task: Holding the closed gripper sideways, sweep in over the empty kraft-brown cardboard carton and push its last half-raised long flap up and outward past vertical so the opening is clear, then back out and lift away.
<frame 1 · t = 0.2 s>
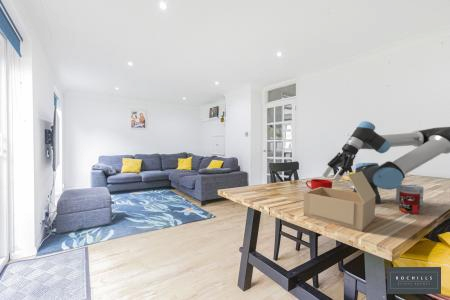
hand: (329, 178, 116), 15 cm above the table, tool tilted 35°, fingers open, 13 cm apart
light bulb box: (408, 203, 123), on the table
canned food: (408, 212, 107), on the table
carton: (338, 217, 97), on the table
ceramic cup: (317, 195, 140), on the table
carton flap: (362, 185, 90), point 16 cm above the table, hinge at 60.0°
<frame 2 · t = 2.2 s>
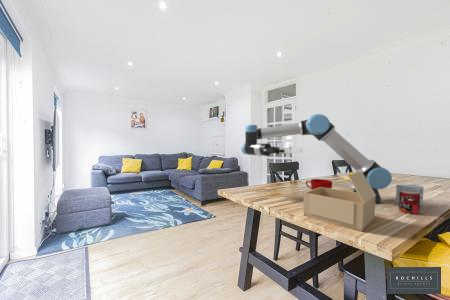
hand: (296, 151, 112), 30 cm above the table, tool horizontal, fingers open, 11 cm apart
nothing on the table moved.
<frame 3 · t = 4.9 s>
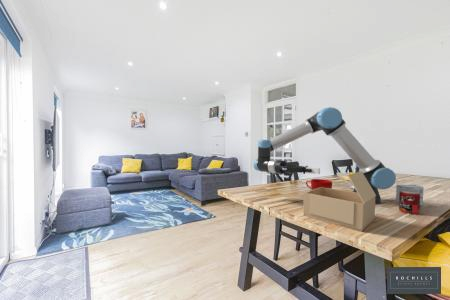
hand: (319, 171, 102), 21 cm above the table, tool horizontal, fingers closed
nothing on the table moved.
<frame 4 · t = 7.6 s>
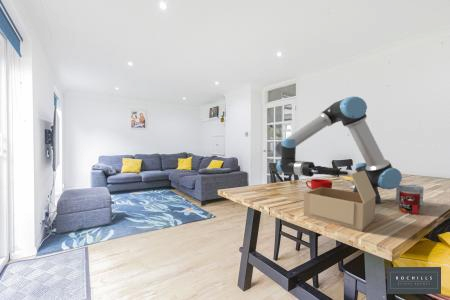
hand: (356, 173, 91), 21 cm above the table, tool horizontal, fingers closed
carton flap: (364, 185, 90), point 17 cm above the table, hinge at 66.2°, touching gripper
everything else where it was.
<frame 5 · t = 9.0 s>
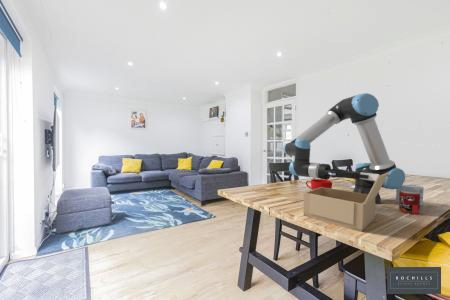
hand: (378, 177, 85), 21 cm above the table, tool horizontal, fingers closed
carton flap: (376, 187, 86), point 17 cm above the table, hinge at 110.7°, touching gripper
everything else where it was.
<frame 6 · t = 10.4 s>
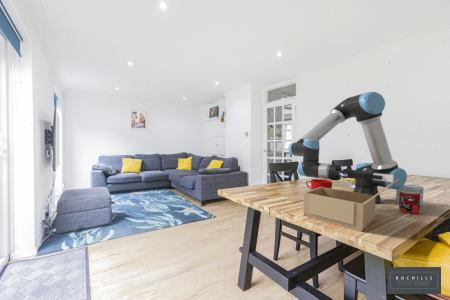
hand: (393, 178, 82), 21 cm above the table, tool horizontal, fingers closed
carton flap: (382, 190, 85), point 15 cm above the table, hinge at 131.5°, touching gripper
everything else where it was.
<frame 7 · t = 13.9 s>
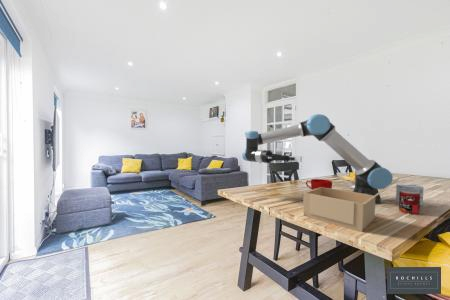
hand: (301, 159, 110), 26 cm above the table, tool horizontal, fingers closed
carton flap: (382, 190, 85), point 15 cm above the table, hinge at 131.7°
everything else where it was.
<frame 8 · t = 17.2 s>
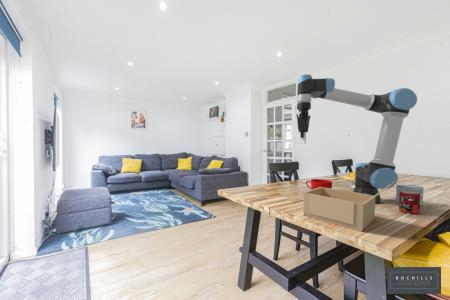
hand: (302, 143, 121), 34 cm above the table, tool pointing down, fingers closed
nothing on the table moved.
at the end: carton flap at +132° (first picture: +60°) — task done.
